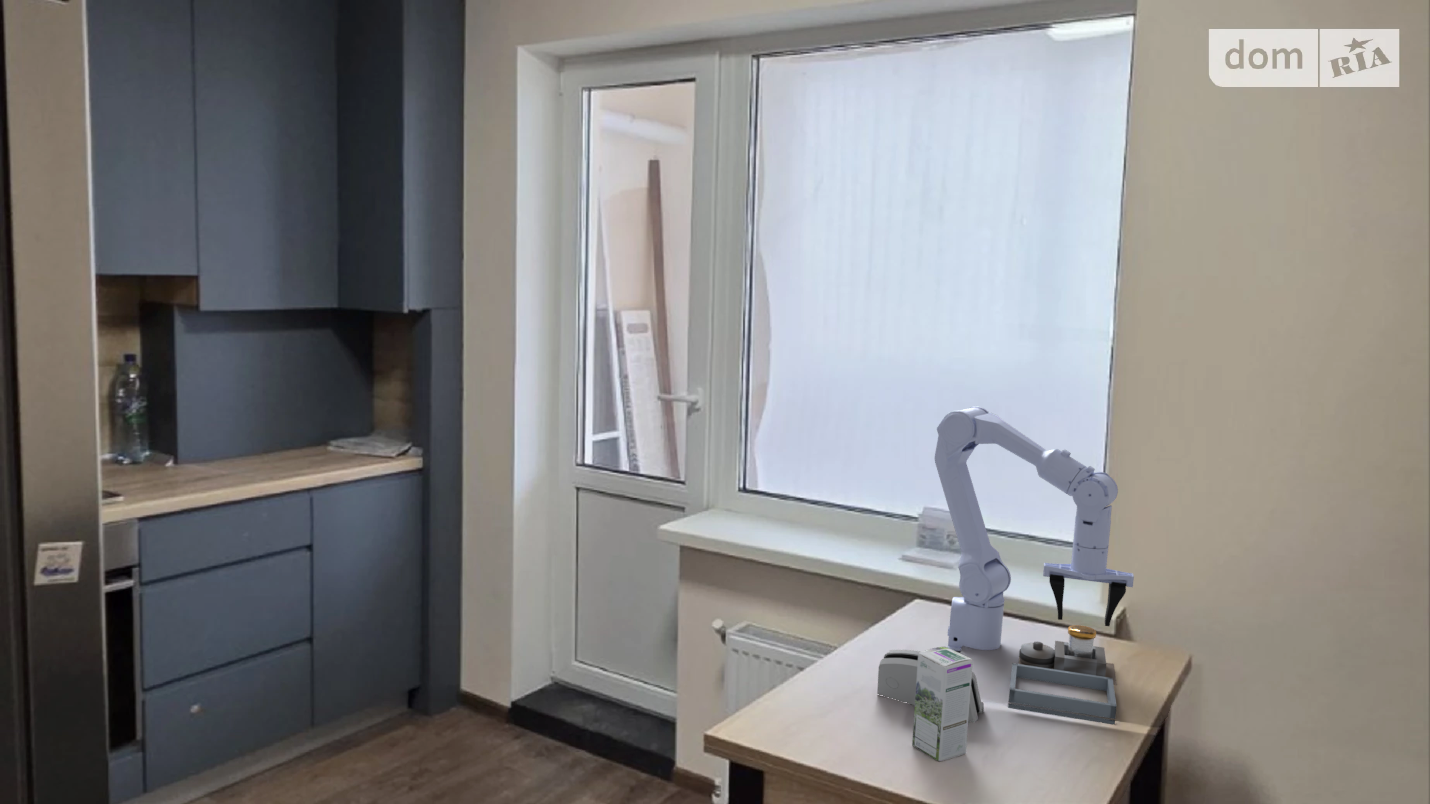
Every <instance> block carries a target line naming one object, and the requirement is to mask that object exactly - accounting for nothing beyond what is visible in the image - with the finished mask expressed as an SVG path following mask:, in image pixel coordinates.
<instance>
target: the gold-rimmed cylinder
mask: <svg viewBox="0 0 1430 804" xmlns="http://www.w3.org/2000/svg"><path fill="white" fill-rule="evenodd" d="M1067 635H1069V636H1068V643H1069V645H1068V656H1075V657H1082V658H1089V659H1092V652H1093V646H1094V641H1095V640H1094V639H1096V638H1097V630H1096V629H1094V628H1092V627H1090V626H1086V625H1082V624H1081V625H1080V624H1076V625H1075V624H1074V625H1069V626H1068V627H1067Z"/></svg>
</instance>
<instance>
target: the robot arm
mask: <svg viewBox="0 0 1430 804" xmlns="http://www.w3.org/2000/svg"><path fill="white" fill-rule="evenodd" d="M936 431H937V434H938V436H937V442H936V447H935V453H934V463H935V467H936V471H937V473H938V477H939V479H940V483H941V487H942V490H943V494H944V497H945V500H946V504H947V507H948V511H949V514H950V517H951V521H952V524H953V528H954V530H955V531H954V532H955V534H956V538H957V542H958V544H959V548H960V552H961V555H960V558H959V562H958V571H959V583H958V586H959V592H960V593H961V595H962V596H953V597H952V600H951V607H950V616H949V617H950V618H949V626H948V628H947V637H948V641H947V642H948V643H947V648H949V649H952V650H954V651H956V652H962V647H967V648H971V649H975V650H981V651H991V650H992V651H994V650H996V649H999V648H1001V642H1002V631H1003V620H1004V608H1005V598H1004V592H1005V591H1007V590H1008V589H1009V588H1010V585H1011V582H1012V576H1011V572H1010V570H1009V568H1008V567H1007V565H1006V564H1005V563H1004V562H1003V560H1002V559H1001V556H1000V552H999V551H998V550H997V549H996V548H995V547H994V546H993V545H992V544H991V542H990V538H989V534H988V532H987V528H986V524H985V522H984V518H983V515H982V512H981V507H980V504H979V501H978V497H977V495H976V490H975V487H974V484H973V482H972V481H973V480H972V479H971V478H972V477H971V474H970V472H969V468H968V464H967V461H968V460H969V458H970V456H971V455H972V453H973V452H974V450H975V448H976V447H977V446H979V445H989V444H991V445H993V444H994V445H998V446H999V447H1001V448H1003V449H1004V450H1007V451H1009V452H1010V453H1012V454H1013V455H1015V456H1017V457H1019V458H1021V459H1022V460H1024V461H1026V462H1027V463H1030V464H1031V465H1033V466H1035V469H1036V472H1037V475H1038V476H1039V478H1041V479H1043V480H1044V481H1045V482H1047V483H1049V484H1050V485H1052V486H1053V487H1054V488H1056V489H1058V490H1060V491H1061V492H1063V493H1064V494H1066V495H1067V496H1070V497H1072V500H1073V502H1074V504H1075V505H1076V514H1075V518H1074V529H1073V531H1074V532H1073V539H1072V541H1073V542H1072V550H1071V561H1070V563H1052V562H1051V563H1050V562H1043V574H1042V576H1043V577H1048V578H1049V579H1048V580H1049V582H1048V583H1049V585H1050V588H1051V590H1052V593H1053V596H1054V599H1055V602H1056V603H1055V604H1056V608H1057V609H1056V611H1057V620H1059V621H1060V620H1061V621H1063V615H1064V613H1063V610H1064V607H1063V606H1064V605H1063V602H1064V593H1065V592H1064V591H1065V579H1070V580H1071V579H1072V580H1079V581H1087V582H1088V581H1089V582H1095V583H1103V584H1108V593H1107V604H1106V608H1105V609H1106V610H1105V615H1104V626H1105V627H1110V625H1111V621H1112V618H1113V615H1114V613H1115V610H1116V609H1117V607H1118V605H1119V604H1120V602H1121V601H1122V598H1124V596H1125V594H1126V592H1127V587H1128V588H1133V587H1134V581H1135V580H1134V578H1135V576H1134V573H1133V572H1126V571H1125V572H1124V571H1122V570H1121V571H1119V570H1116V569H1110V568H1107V566H1108V555H1109V546H1110V535H1111V534H1110V533H1111V524H1112V509H1113V506H1112V505H1111V504H1113V503H1114V502H1115V500H1116V498H1117V496H1118V493H1119V489H1118V485H1117V482H1116V481H1115V480H1114V478H1113V477H1111V476H1110V475H1109V474H1108V472H1103V471H1096V469H1095V468H1094V467H1093V466H1091V465H1090V466H1086V465H1084V464H1083V463H1081V462H1080V461H1078V460H1077V459H1074V458H1073V457H1071V451H1069V450H1067V449H1063V450H1060V449H1058V448H1054V449H1050V450H1047V449H1046V448H1045V447H1043V446H1041V445H1039V444H1038V443H1037V442H1035V441H1034V440H1033V439H1031V438H1030V437H1028V436H1026V435H1025V434H1023V433H1022V432H1021V431H1019V430H1018V429H1016V428H1014V427H1013V426H1012V425H1011V424H1009V423H1007V422H1006V421H1005V420H1004V419H1002V418H1001V417H1000V416H999V415H998V414H995V413H992V412H989V411H988V410H987V409H986V408H984V407H982V406H977V405H976V406H975V405H974V406H971V407H968V408H965V409H961V410H953V411H950V412H947V414H945V416H944V417H943V419H942V420H941V422H940V423H939V424H938V425H937V427H936ZM1095 471H1096V472H1095Z"/></svg>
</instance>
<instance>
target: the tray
mask: <svg viewBox="0 0 1430 804" xmlns="http://www.w3.org/2000/svg"><path fill="white" fill-rule="evenodd" d="M1017 678H1021V679H1026V680H1033V681H1040V682H1046V683H1053V684H1057V685H1058V684H1060V685H1064V686H1065V685H1066V686H1071V687H1079V688H1085V689H1086V688H1087V689H1092V690H1096V691H1097V690H1098V691H1105V692H1106V697H1107V698H1106V699H1107V702H1102V701H1097V700H1089V699H1084V698H1077V697H1071V696H1064V695H1059V694H1051V693H1045V692H1040V691H1031V690H1027V689H1019V688H1016V683H1017ZM1008 695H1009V696H1008V702H1009V703H1008V704H1007V705H1008V706H1007V707H1008V708H1009V709H1013V710H1014V709H1015V710H1022V711H1027V712H1032V713H1039V714H1045V715H1051V716H1057V717H1064V718H1071V719H1078V720H1082V721H1083V720H1084V721H1089V722H1093V723H1094V722H1096V723H1100V722H1102V724H1107V725H1113V724H1115V725H1116V720H1115V719H1116V715H1117V707H1118V705H1117V700H1116V693H1115V685H1113V678H1109V677H1102V676H1096V675H1089V674H1082V673H1075V672H1069V671H1062V670H1055V669H1049V668H1042V667H1035V666H1028V665H1022V664H1018V663H1015V662H1014V663H1013V662H1012V663H1011V673H1010V683H1009V694H1008Z"/></svg>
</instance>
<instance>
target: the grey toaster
mask: <svg viewBox="0 0 1430 804" xmlns="http://www.w3.org/2000/svg"><path fill="white" fill-rule="evenodd" d="M919 652H922V651H920V650H919V651H918V650H914V649H913V650H912V649H892V650H889V651H887V652H886V653H885V654H884V655H883V658H882V659H881V660H880V662H879V665H878V673H877V674H878V675H877V692H876V695H877V694H879V695H883V696H885V697H884V698H886V697H889V698H893V699H896V700H899V701H898V702H900V701H902V702H901V703H903V702H907V703H909V704H908V705H910V704H913V705H912V706H914V705H915V696H916V680H917V664H918V654H919ZM879 695H878V696H879ZM889 698H888V699H889ZM893 699H892V700H893ZM981 699H982V698H981V695H980V690H979V686H978V681H977V675H976V673H975V672H973V671H972V679H971V691H970V704H969V717H968V722H970V721H971V722H970V723H976V722H977V721H978V720H979V717H978V714H982V713H985V706H984V701H982V700H981ZM896 700H895V701H896ZM907 703H906V704H907Z"/></svg>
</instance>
